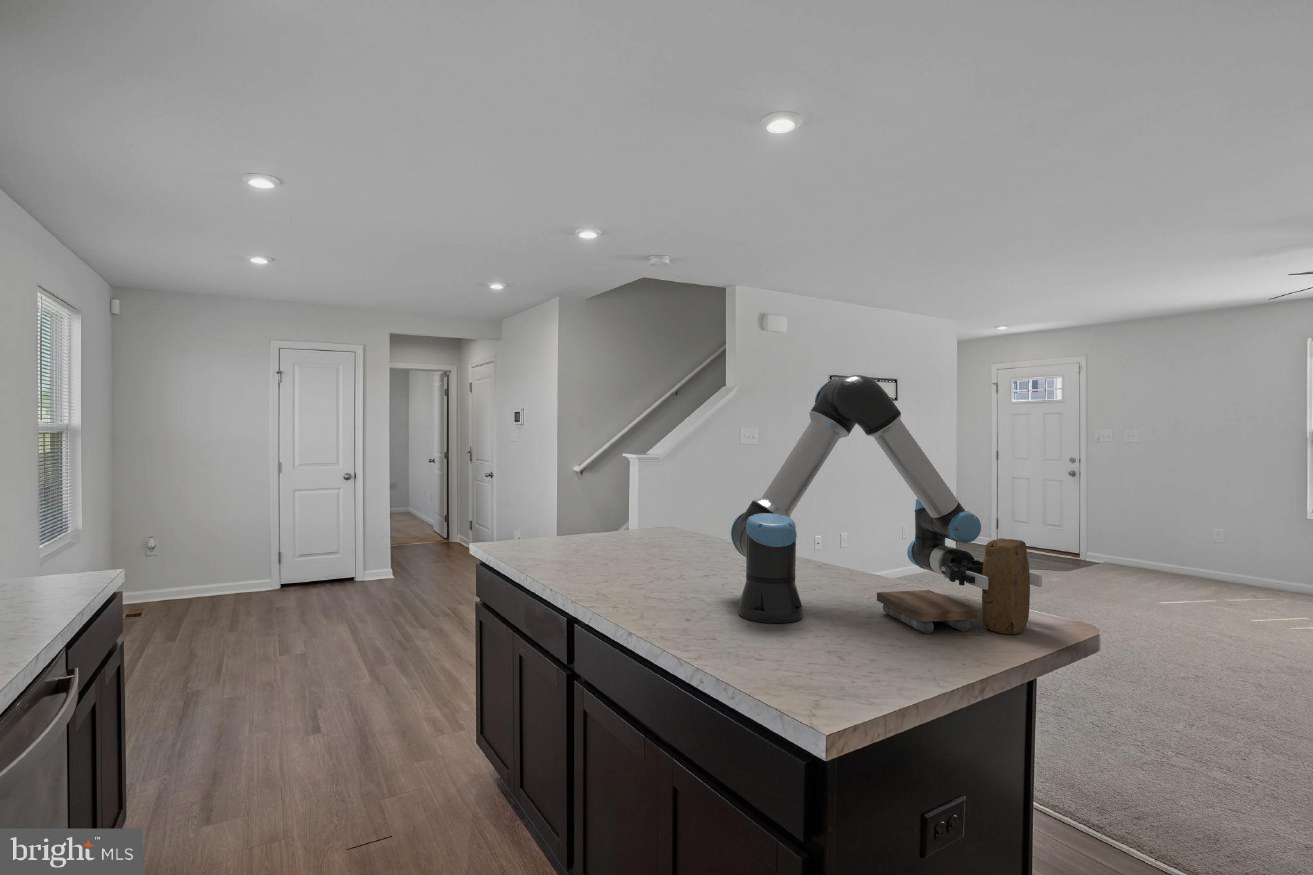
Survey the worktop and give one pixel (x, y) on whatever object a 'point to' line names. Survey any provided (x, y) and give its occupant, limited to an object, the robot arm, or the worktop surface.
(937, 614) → the slab
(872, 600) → the worktop surface
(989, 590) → the block
